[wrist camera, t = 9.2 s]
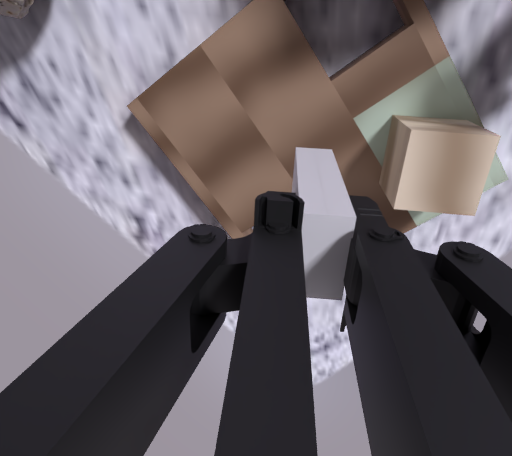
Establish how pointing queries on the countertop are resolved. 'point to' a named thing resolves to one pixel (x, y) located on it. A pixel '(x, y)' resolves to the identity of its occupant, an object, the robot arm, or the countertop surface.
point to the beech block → (436, 164)
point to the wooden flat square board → (297, 109)
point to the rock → (15, 8)
